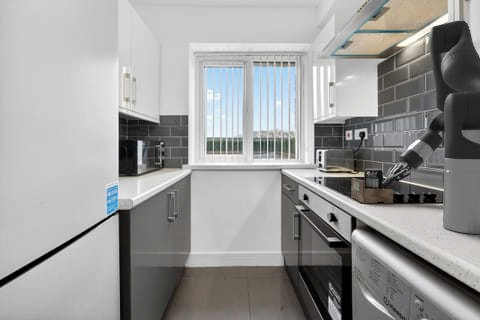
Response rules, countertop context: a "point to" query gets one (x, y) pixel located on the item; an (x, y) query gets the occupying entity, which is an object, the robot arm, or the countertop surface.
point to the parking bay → (370, 193)
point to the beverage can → (373, 178)
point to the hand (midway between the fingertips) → (382, 187)
